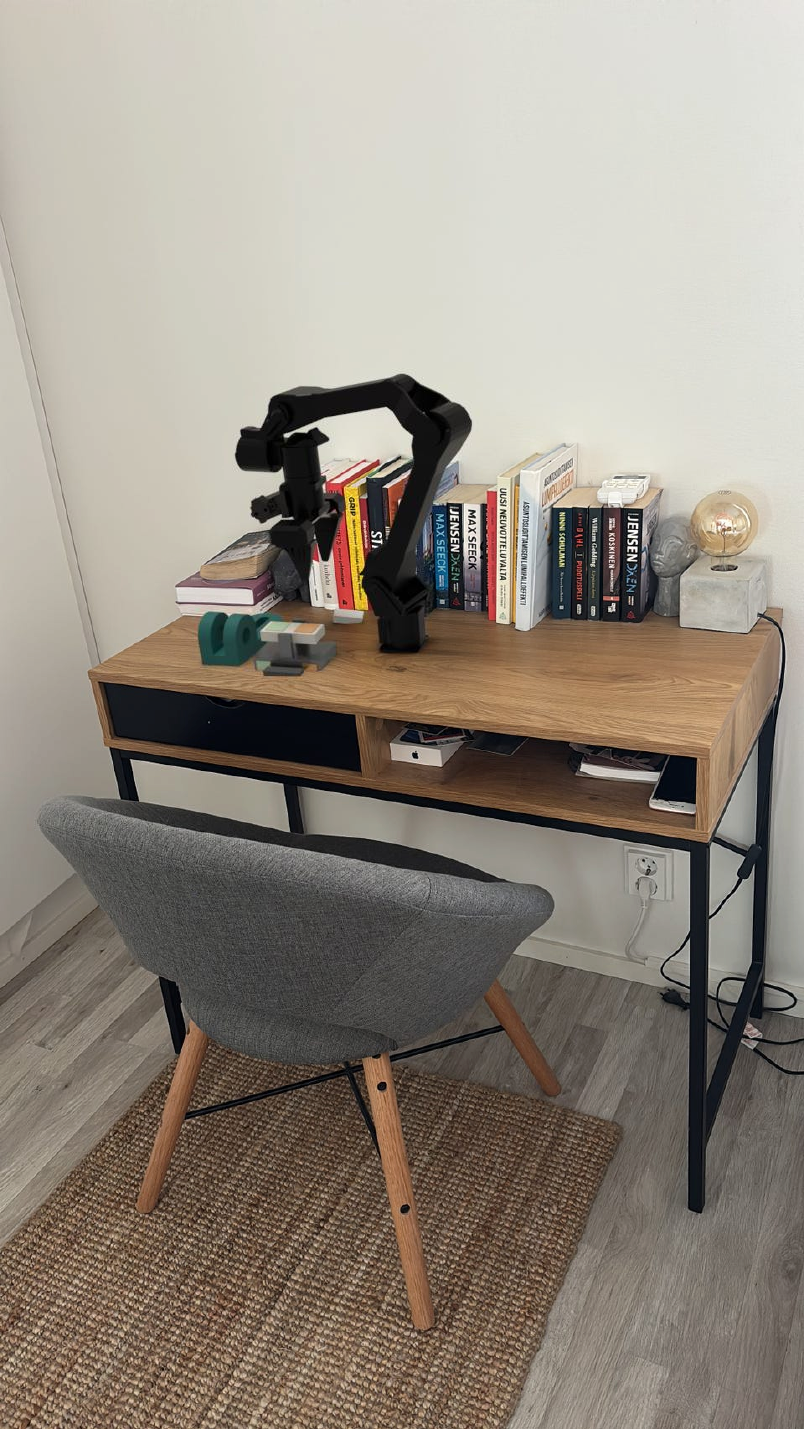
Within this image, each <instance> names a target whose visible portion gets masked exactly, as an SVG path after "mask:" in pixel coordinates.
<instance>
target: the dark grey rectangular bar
mask: <svg viewBox="0 0 804 1429" xmlns="http://www.w3.org/2000/svg"><path fill="white" fill-rule="evenodd" d="M262 673H263V674H262V675H263V677H301V676H302V675H303V674H304V673H305V671H304V669H302V668H288V667H273V666H267V667H266V668H265V669H264V670H262Z"/></svg>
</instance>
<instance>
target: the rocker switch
mask: <svg viewBox="0 0 804 1429" xmlns="http://www.w3.org/2000/svg"><path fill="white" fill-rule="evenodd" d="M279 633H290V634H292V641H293V643H304V644H317V642H318V641H321V639H322V638H323V637H324V636H325V635H326V628H325V624H324V623H308V622H307V623H293V622H291V621H290V622H288V621H287V622H286V621H283V622H273V621H270V622H269V623H268V624H267V625H266V626H265V627H264V628H263V629H262V630H261V631H260V634H261V641H271V642H278V636H277V635H278V634H279Z"/></svg>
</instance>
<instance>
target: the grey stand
mask: <svg viewBox="0 0 804 1429" xmlns="http://www.w3.org/2000/svg"><path fill="white" fill-rule="evenodd" d="M292 623H308V621H307V618H301V617H294V618H293V619H292ZM277 636H278V642H271V641H268V642H267V643H266V644H265V645H264V646H263V647H262V648H261V649H260V650H259V651H258V652H257V653H256V654H254V655H253V656H252V658H253V664H254V665H253V666H254V670H256V671H263V670H264V669H265V668H266V667H267V666H273V667H288V668H302V669H304V672H306V671H307V672H318V671H322V670H323V669H324V668H325V667H326V666H327V665H328V664H329V662H330V661H332V659H333V658H334V657H335V656H336V655H337V654H338V649H337V642H336V641H334V642H333V641H321V640H319V641H318V642H317V644H304V643H293V641H292V634H290V633H279V634H278V635H277ZM336 653H337V654H336Z"/></svg>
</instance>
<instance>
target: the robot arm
mask: <svg viewBox="0 0 804 1429" xmlns="http://www.w3.org/2000/svg"><path fill="white" fill-rule="evenodd" d="M383 408H387V409H389V411H391V412H392V413H393V415H394V416H395V418H396V420H397V421H398V423H399V424H400V426H401V427H402V429H404V430H405V431H406V432H407V433H408V434H410V435H411V436H412V438H411V439H412V440H411V453H412V458H413V461H412V465H411V469H410V471H409V475H408V476H407V477H408V478H407V480H406V483H405V487H404V489H403V492H402V496H401V498H400V501H399V504H398V506H397V509H396V512H395V516H394V518H393V519H392V523H391V526H390V529H389V532H388V535H387V538H386V539H385V540H386V541H384V542H382V543H381V544H379V545H378V546H376V547H375V548H373V549H371V550H370V551H368V552H367V554H366V557H365V562H364V567H362V570H361V571H360V572H359V573H358V575H359V576H362V578H361V582H360V585H361V589H362V590H363V592H364V594H365V595H366V597H367V599H368V602H369V605H370V606H371V610H372V611H373V614H374V616H375V617H378V618H377V619H376V623H377V624H376V626H377V635H378V643H379V644H381V645H380V646H378V651H379V652H380V653H381V652H382V653H396V654H397V653H398V654H418V653H420V652H421V650H422V649H424V648H423V647H425V646H426V644H427V642H428V641H429V639H430V635H429V634H426V625H425V622H426V620H425V606H424V605H422V604H423V603H426V602H427V601H428V600H429V597H430V593H431V589H430V587H429V586H428V585H427V584H426V583H425V582H424V581H423V580H422V579H421V578H420V577H419V575H418V574H417V573H416V572H417V568H418V559H417V553H416V549H417V546H418V543H419V541H420V538H421V536H422V532H423V529H424V528H425V527H424V526H425V524H426V522H427V519H428V516H429V513H430V511H431V508H432V506H433V502H434V499H435V498H436V494H437V492H438V489H439V486H440V484H441V481H442V478H443V475H444V473H445V470H446V469H447V468H448V466H449V464H450V463H451V462H452V461H453V460H454V458H455V457H456V456H457V455H458V453H459V452H460V450H461V449H462V447H463V446H464V444H465V442H466V441H467V439H468V437H469V436H470V434H471V432H472V429H473V421H472V420H473V419H472V418H471V416H470V414H469V412H468V411H467V409H466V407H464V406H463V405H462V404H460V403H458V402H454V401H452V400H450V399H449V398H448V397H446V396H445V395H444V394H442V393H440V392H438V391H436V390H435V389H432V388H430V387H428V386H425V385H424V384H422V383H420V382H419V381H418V380H416V379H415V378H414V377H413V376H411V375H409V374H406V373H397V374H395V375H393V376H390V377H386V378H379V379H374V380H369V381H364V382H359V383H355V384H349V385H345V386H344V385H343V386H339V387H334V388H329V387H328V388H324V387H321V386H313V385H312V386H310V385H309V386H308V385H299V386H297V387H294V388H293V387H292V388H291V389H289V390H286V391H283V392H280V393H278V394H274V395H273V396H271V398H269V402H268V405H267V414H266V416H265V418H264V420H263V421H262V422H263V423H262V424H261V427H256V426H254V425H253V426H252V425H251V426H245V427H242V428H240V430H239V433H240V437H239V439H238V441H237V443H236V447H235V452H234V459H235V462H236V465H237V466H238V468H239V469H241V471H244V472H252V473H253V472H255V473H256V472H257V473H272V474H274V473H275V474H276V473H278V472H280V471H281V470H282V473H283V480H284V481H283V482H282V483H280V484H279V486H278V490H277V491H275V492H272V493H271V494H268V495H266V496H265V495H263V494H262V495H260V496H258V497H255V498H253V499H252V500H250V507H249V508H250V511H251V512H250V516H251V518H254V519H255V520H258V522H259V524H260V525H262V524H265V523H267V521H268V520H270V519H273V518H274V519H275V517H278V516H281V519H280V520H279V521H278V522H276V523H275V524H274V525H272V527H271V528H270V529H269V530H268V531H267V533H268V540H269V544H270V546H274V547H275V548H277V549H281V550H283V551H285V552H286V553H287V555H288V556H289V558H290V560H291V562H292V564H293V566H294V568H295V570H296V572H297V574H298V577H299V578H300V580H301V581H302V582H308V581H309V580H310V576H311V571H312V565H313V559H314V554H315V550H316V545H317V549H318V552H319V556H320V559H321V561H322V562H329V560H330V558H331V554H332V551H333V547H334V544H335V541H336V539H337V535H338V533H339V532H338V531H339V528H340V525H341V522H342V519H343V517H344V512H345V511H346V510H347V502H346V498H345V497H344V496H343V495H342V494H341V493H340V492H324V486H323V485H325V484H326V483H328V481H327V475H325V474H324V475H322V471H321V464H320V455H319V446H321V445H323V444H325V443H328V442H330V437H329V436H328V435H326V434H325V433H324V432H323V431H321V430H320V429H319V427H318V426H315V427H313V428H311V429H308V431H307V432H301V431H300V432H298V431H297V430H299V429H302V428H304V427H307V426H309V425H312V424H314V423H316V422H319V421H321V420H323V419H326V418H333V417H337V416H343V415H348V414H354V413H359V412H360V413H362V412H366V411H371V410H379V409H383ZM295 431H297V432H295ZM290 433H291V434H290ZM285 434H290V435H289V436H288V437H287V436H285ZM289 518H292V519H289Z"/></svg>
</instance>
